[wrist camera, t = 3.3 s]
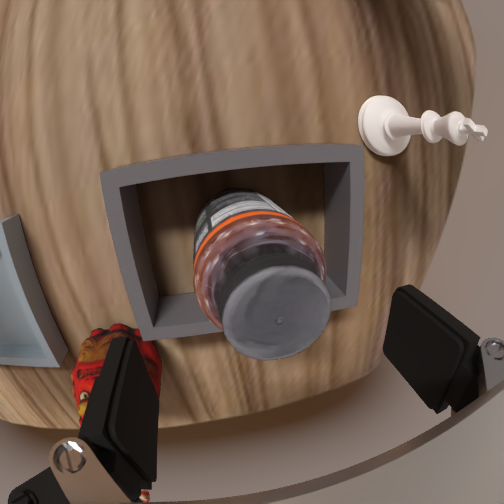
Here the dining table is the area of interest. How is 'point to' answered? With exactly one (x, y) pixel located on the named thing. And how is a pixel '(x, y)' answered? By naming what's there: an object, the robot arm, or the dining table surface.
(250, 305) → the supplement bottle
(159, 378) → the red clay folk toy
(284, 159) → the dock
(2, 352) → the tray
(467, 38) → the dining table surface
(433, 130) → the chess piece
